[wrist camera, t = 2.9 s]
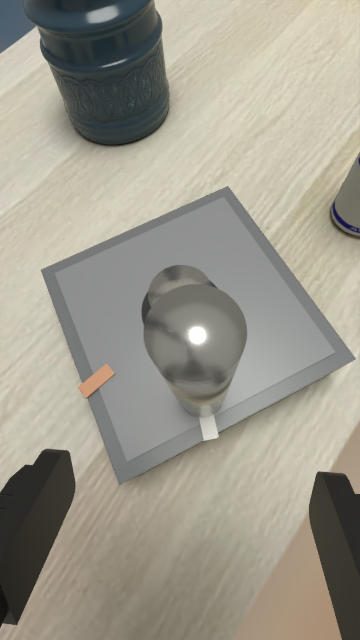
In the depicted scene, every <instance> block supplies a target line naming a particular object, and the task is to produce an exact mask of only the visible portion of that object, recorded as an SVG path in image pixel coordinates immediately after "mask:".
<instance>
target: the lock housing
mask: <svg viewBox="0 0 360 640" xmlns="http://www.w3.org/2000/svg"><path fill="white" fill-rule="evenodd" d="M174 265H188V266H192V267H195V268H197V269H199V270H200V271H202V272H203V273H204V274H205V275H206V276H207V278H208V279H209V281H210V283H211V286H212V287H215V288H217V289H219V290H222V291H223V292H225V293H226V294H228V295H229V296H230V297H231V298H232V299H233V300H234V301H235V302H236V303H237V304H238V306H239V307H240V308H241V310H242V312H243V314H244V317H245V320H246V324H247V341H246V345H245V348H244V351H243V354H242V356H241V359H240V361H239V364H238V366H237V369H236V371H235V374H234V377H233V379H232V382H231V384H230V387H229V389H228V392H227V394H226V397H225V400H224V402H223V404H222V406H221V408H220V409H219V410H218V411H217V412H216V413H215V414H213V415H211V416H208V417H195V416H192V415H190V414H189V413H187V412H186V411H185V410H184V409H183V408H182V406H181V405H180V403H179V402H178V400H177V399H176V397H175V395H174V394H173V392H172V391H171V389H170V388H169V386H168V385H167V383H166V382H165V380H164V378H163V377H162V375H161V374H160V372H159V371H158V369H157V368H156V366H155V365H154V363H153V361H152V360H151V358H150V356H149V355H148V353H147V350H146V348H145V343H144V336H143V331H144V324H145V320H146V317H147V314H148V312H149V310H150V309H151V306H150V304H149V300H148V290H149V286H150V284H151V282H152V280H153V278H154V277H155V276H156V275H157V274H158V273H159V272H161V271H162V270H164V269H165V268H168V267H170V266H174ZM41 272H42V275H43V277H44V280H45V283H46V285H47V288H48V291H49V294H50V296H51V299H52V302H53V305H54V307H55V310H56V313H57V316H58V318H59V321H60V324H61V327H62V329H63V332H64V335H65V337H66V340H67V343H68V346H69V348H70V351H71V354H72V357H73V359H74V362H75V365H76V368H77V370H78V373H79V376H80V379H81V381H82V384H81V385H80V386H79V387H78V389H79V390H80V391H81V393H82V394H83V395H84V397H85V398H86V399H87V398H88V400H89V403H90V406H91V409H92V411H93V414H94V417H95V420H96V422H97V425H98V428H99V431H100V433H101V436H102V439H103V441H104V444H105V447H106V450H107V452H108V455H109V458H110V461H111V463H112V466H113V469H114V472H115V474H116V477H117V480H118V483H119V485H120V484H123V483H125V482H127V481H129V480H131V479H134V478H136V477H138V476H140V475H141V474H143V473H145V472H147V471H149V470H151V469H153V468H155V467H156V466H158V465H160V464H162V463H164V462H166V461H168V460H170V459H171V458H173V457H175V456H177V455H179V454H181V453H183V452H185V451H186V450H188V449H190V448H192V447H194V446H196V445H198V444H200V443H201V442H203V441H206V440H210V439H215V438H219V436H218V433H220V432H222V431H224V430H226V429H228V428H230V427H231V426H233V425H235V424H237V423H239V422H241V421H243V420H245V419H247V418H248V417H250V416H252V415H254V414H256V413H258V412H260V411H262V410H263V409H265V408H267V407H269V406H271V405H273V404H275V403H277V402H278V401H280V400H282V399H284V398H286V397H288V396H290V395H292V394H293V393H295V392H297V391H299V390H301V389H303V388H305V387H307V386H308V385H310V384H312V383H314V382H316V381H318V380H320V379H322V378H323V377H325V376H327V375H329V374H331V373H333V372H334V371H336V370H338V369H340V368H341V367H343V366H345V365H346V364H348V363H350V362H352V361H353V360H355V359H356V358H355V357H354V356H353V354H352V353H351V352H350V350H349V349H348V347H347V346H346V345H345V343H344V342H343V341H342V339H341V338H340V337H339V335H338V334H337V333H336V331H335V330H334V329H333V327H332V326H331V325H330V323H329V322H328V320H327V319H326V318H325V316H324V315H323V314H322V312H321V311H320V310H319V308H318V307H317V306H316V304H315V303H314V302H313V300H312V299H311V298H310V296H309V295H308V293H307V292H306V291H305V289H304V288H303V287H302V285H301V284H300V283H299V281H298V280H297V279H296V277H295V276H294V275H293V273H292V272H291V271H290V269H289V268H288V266H287V265H286V264H285V262H284V261H283V260H282V258H281V257H280V256H279V254H278V253H277V252H276V250H275V249H274V248H273V246H272V245H271V244H270V242H269V241H268V239H267V238H266V237H265V235H264V234H263V233H262V231H261V230H260V229H259V227H258V226H257V225H256V223H255V222H254V221H253V219H252V218H251V217H250V215H249V214H248V212H247V211H246V210H245V208H244V207H243V206H242V204H241V203H240V202H239V200H238V199H237V198H236V196H235V195H234V194H233V192H232V191H231V190H230V188H229V187H228V186H227V187H225V188H223V189H220V190H218V191H216V192H214V193H211V194H209V195H207V196H205V197H202V198H200V199H198V200H196V201H194V202H191V203H189V204H187V205H185V206H182V207H180V208H178V209H176V210H173V211H171V212H169V213H167V214H164V215H162V216H160V217H158V218H156V219H153V220H151V221H149V222H147V223H144V224H142V225H140V226H138V227H135V228H133V229H131V230H129V231H127V232H124V233H122V234H120V235H118V236H115V237H113V238H111V239H109V240H106V241H104V242H102V243H100V244H98V245H95V246H93V247H91V248H89V249H86V250H84V251H82V252H80V253H77V254H75V255H73V256H71V257H69V258H66V259H64V260H62V261H60V262H57V263H55V264H53V265H51V266H48V267H46V268H44V269H42V270H41Z"/></svg>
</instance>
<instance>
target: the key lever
mask: <svg viewBox="0 0 360 640" xmlns="http://www.w3.org/2000/svg"><path fill="white" fill-rule="evenodd" d="M148 300H149V304H150V306H151V309H150V310H149V312H148V314H147V317H146V320H145V324H144V331H143V336H144V343H145V348H146V350H147V353H148V355H149V356H150V358H151V360H152V361H153V363H154V365H155V366H156V368H157V369H158V371H159V372H160V374H161V375H162V377H163V378H164V380H165V382H166V383H167V385H168V386H169V388H170V389H171V391H172V392H173V394H174V395H175V397H176V399H177V400H178V402H179V403H180V405H181V406H182V408H183V409H184V410H185V411H186V412H187V413H189V414H190V415H192V416H195V417H208V416H211V415H213V414H215V413H216V412H217V411H218V410H219V409H220V408H221V406H222V404H223V402H224V400H225V397H226V394H227V392H228V389H229V387H230V384H231V382H232V379H233V377H234V374H235V371H236V369H237V366H238V364H239V361H240V359H241V356H242V354H243V351H244V348H245V345H246V341H247V324H246V320H245V317H244V314H243V312H242V310H241V308H240V307H239V306H238V304H237V303H236V302H235V301H234V300H233V299H232V298H231V297H230V296H229V295H228V294H226V293H225V292H223V291H222V290H219V289H217V288H215V287H212V286H211V283H210V281H209V279H208V278H207V276H206V275H205V274H204V273H203V272H202V271H200V270H199V269H197V268H195V267H192V266H188V265H174V266H170V267H168V268H165V269H164V270H162V271H161V272H159V273H158V274H157V275H156V276H155V277H154V278H153V280H152V282H151V284H150V286H149V290H148Z"/></svg>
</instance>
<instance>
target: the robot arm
mask: <svg viewBox="0 0 360 640" xmlns="http://www.w3.org/2000/svg"><path fill="white" fill-rule="evenodd" d="M74 493H75V478H74V473H73V467H72V462H71V457H70V453H69V451H67V450H55V449H44V450H43V451H42V452H41V454H40V455H39V457H38V458H37V460H36V461H35V463H34V464H33V465H25V466H24V467H23V468H21V469H20V470H19V471H18V472H17V473H15V474H14V475H13V476H12V477H11V478H10V479H9V481H8V482H7V483H6V485H5V486H4V488H3V489H2V491H1V492H0V627H1V625H2V623H5V624H12V625H17V624H18V621H19V619H20V617H21V615H22V613H23V610H24V608H25V606H26V604H27V601H28V599H29V597H30V595H31V592H32V590H33V588H34V586H35V584H36V581H37V579H38V577H39V575H40V572H41V570H42V568H43V566H44V563H45V561H46V559H47V557H48V555H49V552H50V550H51V548H52V546H53V543H54V541H55V539H56V537H57V535H58V532H59V530H60V528H61V526H62V523H63V521H64V519H65V517H66V514H67V512H68V510H69V508H70V506H71V503H72V501H73V497H74ZM309 518H310V524H311V529H312V532H313V536H314V539H315V543H316V547H317V550H318V554H319V557H320V561H321V565H322V568H323V572H324V576H325V579H326V583H327V587H328V590H329V594H330V597H331V601H332V604H333V608H334V612H335V616H336V619H337V623H338V626H339V630H340V634H341V637H342V640H360V494H355V493H354V491H353V488H352V486H351V484H350V482H349V480H348V478H347V476H346V475H345V474H342V473H331V472H317V474H316V478H315V482H314V486H313V491H312V495H311V499H310V504H309Z"/></svg>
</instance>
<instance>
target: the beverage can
mask: <svg viewBox="0 0 360 640" xmlns="http://www.w3.org/2000/svg"><path fill="white" fill-rule="evenodd" d="M331 215H332V218H333V220H334V222H335V223H336V224H337V225H338V226H339V227H340V228H341V229H342V230H344V231H345V232H347V233H350V234H353V235H357V236H360V152H359V154H358V156H357V158H356V160H355V162H354V164H353V165H352V167H351V169H350V171H349V173H348V175H347V177H346V179H345V181H344V183H343V185H342V187H341V188H340V190H339V192H338V194H337V196H336V198H335V200H334V202H333V204H332V207H331Z"/></svg>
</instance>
